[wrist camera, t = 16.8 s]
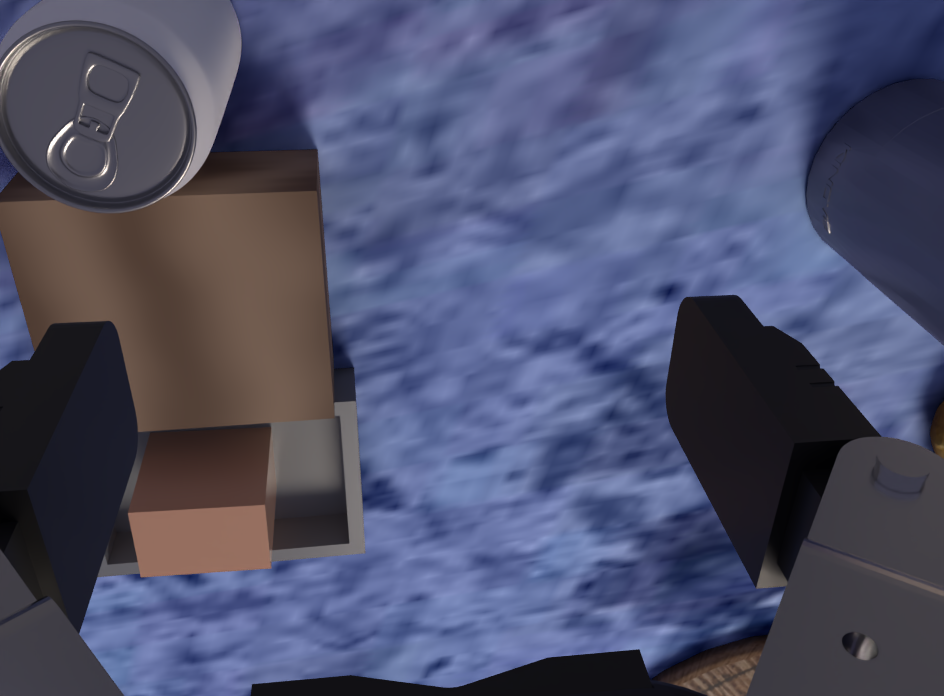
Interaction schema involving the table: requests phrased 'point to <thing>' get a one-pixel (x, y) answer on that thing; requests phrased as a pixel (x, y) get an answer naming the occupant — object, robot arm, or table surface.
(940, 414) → the bread roll
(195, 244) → the brown wooden block
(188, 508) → the small tan cube
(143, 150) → the can
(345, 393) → the box
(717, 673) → the trivet
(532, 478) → the table surface
